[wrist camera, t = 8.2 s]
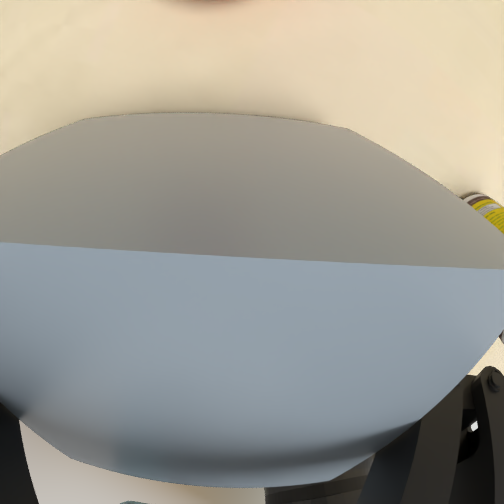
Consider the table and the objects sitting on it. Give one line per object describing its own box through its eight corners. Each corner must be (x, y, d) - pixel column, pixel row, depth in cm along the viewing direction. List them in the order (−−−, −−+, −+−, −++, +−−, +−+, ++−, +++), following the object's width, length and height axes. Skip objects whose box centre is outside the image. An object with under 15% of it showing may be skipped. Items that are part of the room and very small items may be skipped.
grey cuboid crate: (300, 322, 15) (329, 480, 8) (117, 310, 14) (70, 458, 7) (347, 128, 10) (539, 271, 2) (83, 119, 9) (-107, 234, 1)
